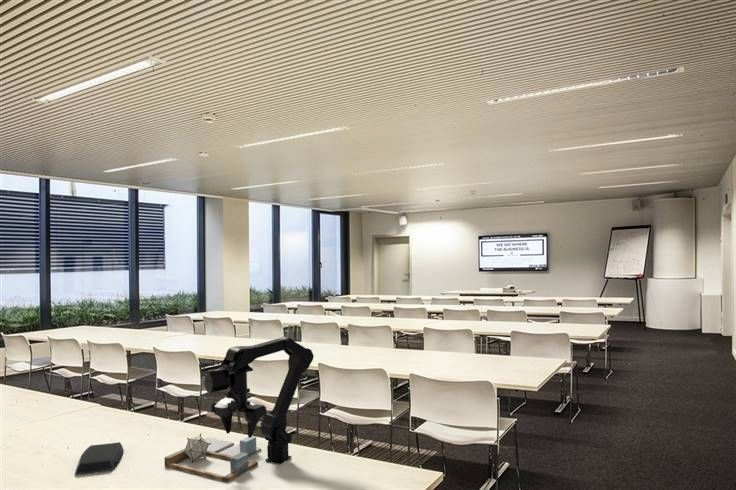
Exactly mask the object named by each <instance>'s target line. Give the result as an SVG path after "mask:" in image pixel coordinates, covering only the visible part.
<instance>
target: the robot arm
mask: <svg viewBox="0 0 736 490" xmlns="http://www.w3.org/2000/svg"><path fill="white" fill-rule="evenodd" d="M282 351H284V354H287V355H288V360H287V364H288V370H287V373H286V376H285V379H284V380H283V383H282V387H281V388H280V391H279V394H278V396H277V399H276V400H275V401H276V402H275V403H274V406H273V409H272V411H270V412H269V413H267V407H266V405H263V404H257V403H256V404H253V405H251V400H248V393H250V391H251V389H250V388H248V372H252V371H254V369H253V367H251V366H250V365H249V364H251V363H253V362H254V361H255V360H257V359H258V358H261V357H265V356H269V355H272V354H275V353H276V354H277V353H278V352H282ZM314 356H315V355H314V353H313V351H312V349H310V348H307V347H305V346H303V345H301V344H300V343H298V342H297V341H295V340H293V338H292V337H288V336H281V337H279V338H274V339H272V340H268V341H265V342H261V343H258V344H254V345H241V346H230V347H229V348H228V349H227V351H226V353H225V356H224V358H223V360H222V361H221V363H220V365H219V367H218V368H217V369H209V370H208V369H207V373H206V375H205V378H204V380H203V381H204V382H203V383H204V384H203V385H204V389H205V391H206V392H207V393H208V394H212V393H215V392H221V391H225V390H226V392H225V396H224V398H222V399H219V400H217V401H213V402H212V404H211V409H210V410H211V412H213V413H214V415H215V416H218V417H219V418H220V419H221V422H222V425H223V427H224V430H225V432H226V434H230V433H231V429H232V422H233V413H235V412H239V413H244V416H245V418H244V420H245V421H246V423H247V437H249V438H251V437H253V434H254V432H255V430H256V428H257V425H258V423H259V421H260V419H261V418H262V417H263V418H262V421H261V422H260V423H259V425H260V428H259V429H260V433H261V435H262V436H263V437H264V438H265V441H267V445H266V446H267V451H266V452H267V458H265V462H267V463H272V464H276V465H281V464H282V465H283V463H284V462H287V461H288V460H290V459H292V455H289V444H290V443H291V442H292V439H293V436H292V435H291V434H290V433H288V431H286V429H287V426H288V421H287V419H288V418H287V414H288V411H289V408H291V404H292V402H293V398H294V395H295V394H296V391H297V388H298V385H299V382H300V380H301V378H302V375H303V374H304V373H305V372H306V371H307V370H308V369H309V368H310V366H311V364H312V363H313V360H314ZM227 389H228V390H227ZM249 405H250V406H249Z"/></svg>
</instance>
